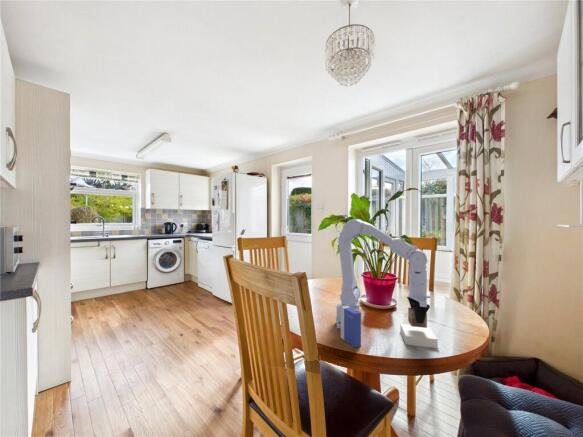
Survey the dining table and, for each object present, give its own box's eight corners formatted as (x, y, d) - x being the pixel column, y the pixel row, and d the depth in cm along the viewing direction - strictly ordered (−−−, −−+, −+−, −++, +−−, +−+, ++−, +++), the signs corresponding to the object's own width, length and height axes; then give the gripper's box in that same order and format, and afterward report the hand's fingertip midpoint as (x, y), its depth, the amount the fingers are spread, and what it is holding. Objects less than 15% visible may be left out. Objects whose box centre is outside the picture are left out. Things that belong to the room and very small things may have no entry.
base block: (406, 344, 86) (406, 336, 86) (400, 331, 96) (400, 324, 96) (437, 348, 84) (437, 339, 84) (428, 334, 94) (428, 326, 94)
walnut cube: (411, 326, 88) (411, 312, 88) (408, 320, 93) (408, 307, 93) (426, 327, 87) (426, 313, 87) (422, 322, 92) (422, 308, 92)
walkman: (361, 345, 85) (361, 311, 85) (354, 347, 84) (354, 312, 84) (346, 336, 92) (346, 304, 92) (340, 337, 91) (340, 305, 91)
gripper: (436, 289, 82) (436, 329, 82) (424, 278, 96) (424, 313, 96) (413, 287, 83) (413, 327, 83) (404, 277, 98) (404, 311, 98)
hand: (417, 319), depth 90 cm, fingers closed on walnut cube, 5 cm apart
